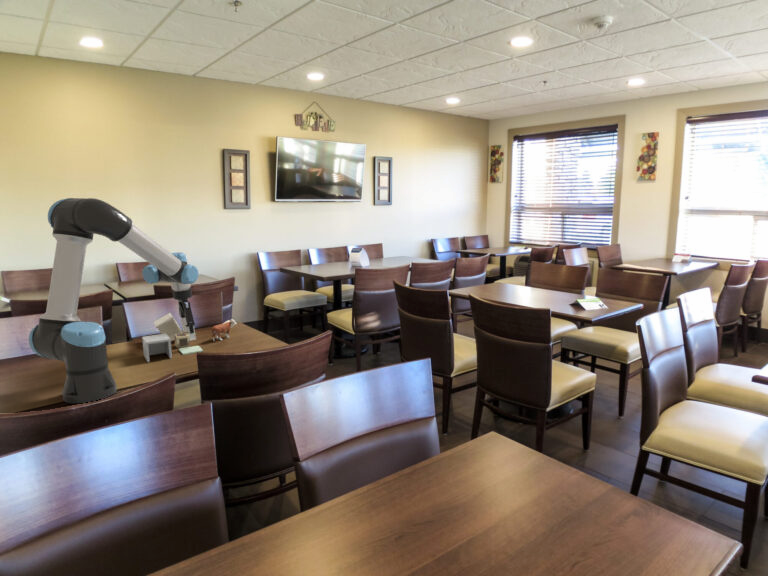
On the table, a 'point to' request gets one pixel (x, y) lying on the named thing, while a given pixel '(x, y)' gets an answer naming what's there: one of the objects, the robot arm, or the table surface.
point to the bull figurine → (223, 329)
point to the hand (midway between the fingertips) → (189, 335)
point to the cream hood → (168, 326)
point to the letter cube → (182, 340)
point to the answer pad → (190, 350)
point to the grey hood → (156, 345)
